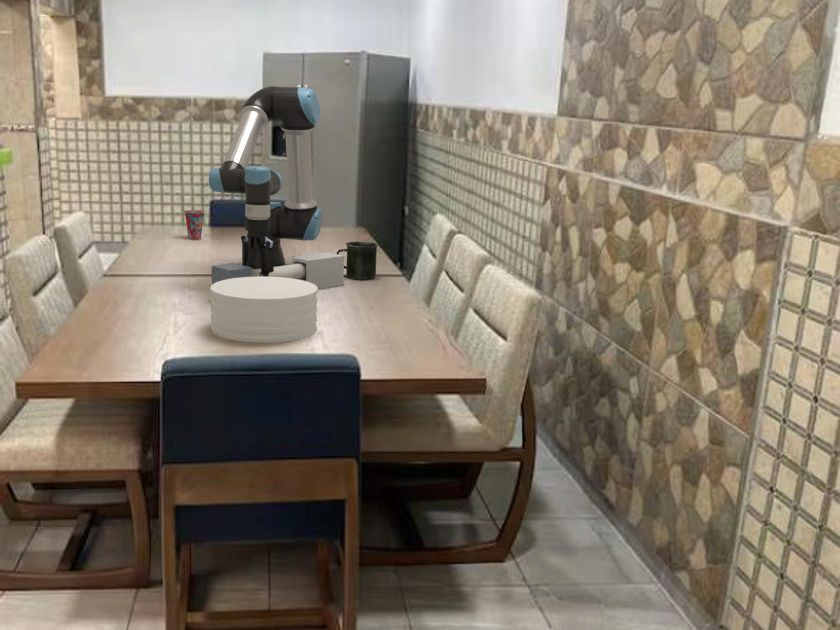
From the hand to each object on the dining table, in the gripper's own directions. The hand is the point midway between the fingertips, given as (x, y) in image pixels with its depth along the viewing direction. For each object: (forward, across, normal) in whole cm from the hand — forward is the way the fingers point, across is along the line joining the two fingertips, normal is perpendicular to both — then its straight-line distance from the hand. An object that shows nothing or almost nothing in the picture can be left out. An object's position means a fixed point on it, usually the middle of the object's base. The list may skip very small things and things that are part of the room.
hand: (257, 292), depth 261 cm
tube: (-1, 0, +5) cm, 6 cm away
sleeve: (+1, 0, +25) cm, 25 cm away
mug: (+2, -3, +46) cm, 46 cm away
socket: (+1, 0, -10) cm, 10 cm away
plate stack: (+2, +31, -22) cm, 38 cm away
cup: (+2, -102, +47) cm, 112 cm away
